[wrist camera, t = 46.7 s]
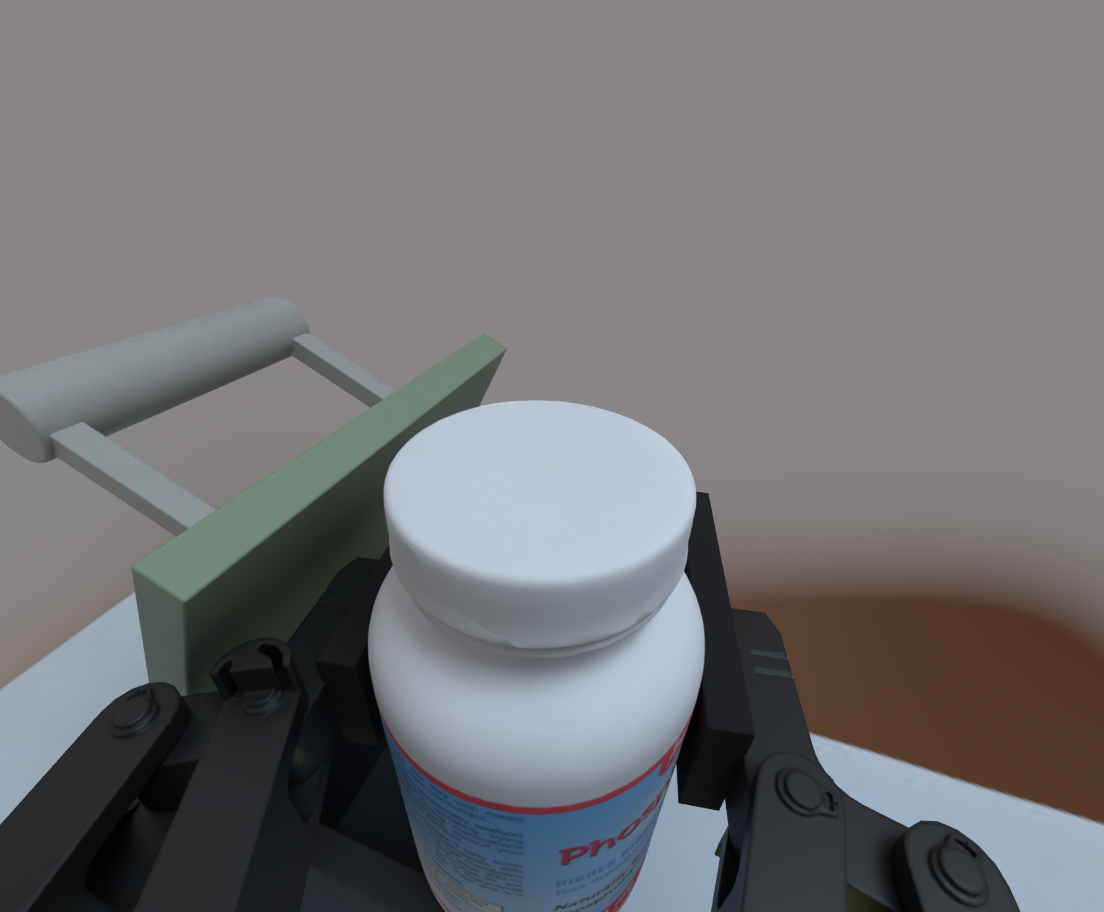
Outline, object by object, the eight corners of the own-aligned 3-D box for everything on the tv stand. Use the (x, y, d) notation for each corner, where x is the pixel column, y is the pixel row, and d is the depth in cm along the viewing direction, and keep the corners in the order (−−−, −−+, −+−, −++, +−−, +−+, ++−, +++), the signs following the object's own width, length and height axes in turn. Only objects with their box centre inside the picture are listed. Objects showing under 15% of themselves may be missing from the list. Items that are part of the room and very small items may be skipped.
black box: (611, 736, 27) (633, 619, 22) (535, 1056, 17) (539, 989, 12) (425, 668, 30) (403, 551, 25) (273, 907, 21) (184, 801, 15)
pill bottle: (608, 1030, 10) (737, 750, 4) (369, 879, 12) (202, 532, 6) (666, 746, 15) (766, 420, 9) (490, 671, 17) (469, 362, 10)
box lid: (507, 348, 17) (317, 221, 17) (184, 602, 7) (-260, 308, 7) (410, 549, 24) (279, 462, 24) (190, 802, 15) (-25, 659, 15)
